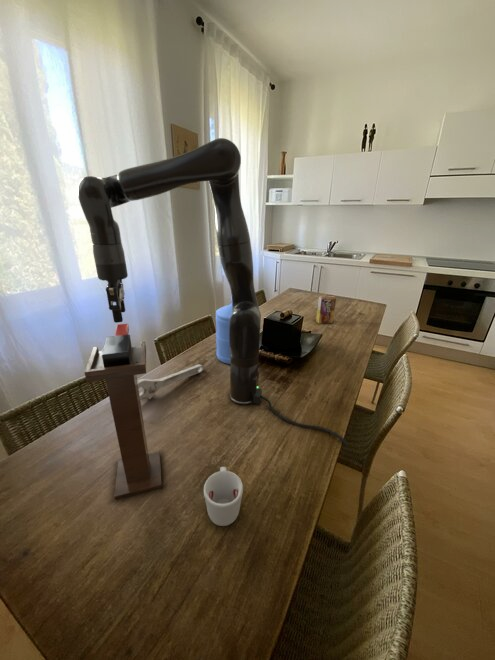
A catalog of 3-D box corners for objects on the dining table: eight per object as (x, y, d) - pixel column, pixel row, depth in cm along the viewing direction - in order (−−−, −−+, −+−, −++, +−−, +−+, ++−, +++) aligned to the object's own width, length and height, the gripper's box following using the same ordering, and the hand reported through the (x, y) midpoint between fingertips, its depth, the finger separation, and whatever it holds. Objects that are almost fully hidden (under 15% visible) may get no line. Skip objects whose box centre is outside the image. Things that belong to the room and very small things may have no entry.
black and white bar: (113, 331, 67) (111, 319, 66) (133, 329, 68) (131, 317, 67) (104, 369, 52) (101, 354, 50) (130, 365, 53) (127, 351, 52)
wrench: (203, 377, 112) (133, 406, 89) (200, 375, 113) (130, 404, 90) (204, 359, 110) (133, 384, 87) (201, 357, 111) (129, 382, 88)
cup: (206, 485, 66) (205, 460, 63) (240, 483, 66) (240, 458, 63) (203, 533, 56) (202, 507, 53) (243, 531, 57) (244, 504, 53)
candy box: (329, 320, 166) (333, 295, 160) (332, 323, 162) (336, 297, 156) (315, 320, 165) (318, 296, 159) (318, 323, 161) (321, 298, 155)
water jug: (209, 360, 119) (208, 297, 108) (226, 345, 132) (226, 287, 121) (243, 368, 114) (245, 303, 103) (257, 352, 127) (259, 292, 116)
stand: (118, 463, 70) (93, 347, 57) (159, 454, 74) (145, 341, 60) (114, 499, 62) (84, 372, 49) (161, 487, 65) (145, 364, 52)
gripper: (122, 265, 71) (132, 324, 77) (127, 256, 83) (135, 308, 89) (89, 266, 68) (102, 327, 75) (99, 257, 81) (109, 310, 87)
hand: (120, 316), depth 82 cm, fingers open, 8 cm apart
